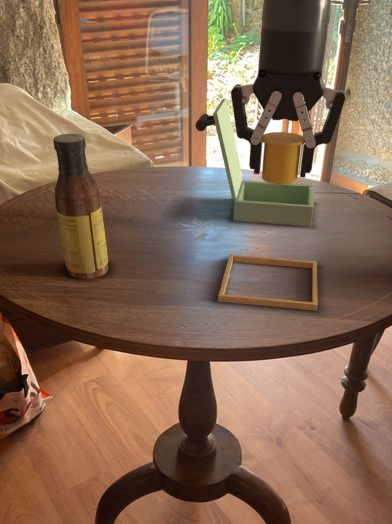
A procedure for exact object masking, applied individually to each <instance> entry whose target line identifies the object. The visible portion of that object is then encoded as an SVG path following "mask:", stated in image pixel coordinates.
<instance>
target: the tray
mask: <svg viewBox="0 0 392 524" xmlns="http://www.w3.org/2000/svg"><path fill="white" fill-rule="evenodd" d="M233 263H245V264H257V265H268V266H269V265H270V266H279V267H280V266H282V267H291V268H304V269H311V301H304V300H303V301H301V300H290V299H282V298H269V297H261V296H260V297H259V296H248V295H237V294H226V291H227V286H228V282H229V278H230V274H231V271H232V268H233ZM225 266H226V267H225V271H224V274H223V278H222V281H221V285H220V288H219V291H218V295H217V301H218V302H220V303H230V304H241V305H251V306H252V305H253V306H262V307H274V308H284V309H292V310H293V309H295V310H304V311H317V310H318V261H314V260H313V261H312V260H303V259H302V260H301V259H300V260H298V259H290V258H289V259H288V258H278V257H265V256H252V255H241V254H229V256H228V260H227V263H226V265H225Z"/></svg>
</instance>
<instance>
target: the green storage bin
mask: <svg viewBox="0 0 392 524" xmlns="http://www.w3.org/2000/svg"><path fill="white" fill-rule="evenodd" d="M314 203H315V201H314V185H313V184H301V183H300V184H299V183H290V184H273V183H269V182H266V181H259V180H258V181H256V180H243V179H242V182H241V185H240V188H239V191H238V195H237V198H236V199H234V201H233V216H232V217H233V218H232V221H233V222H242V223H243V222H245V223H256V224H270V225H281V226H283V225H284V226H293V227H295V226H297V227H307V228H308V227H312V220H313V214H314Z"/></svg>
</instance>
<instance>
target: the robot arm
mask: <svg viewBox="0 0 392 524" xmlns="http://www.w3.org/2000/svg"><path fill="white" fill-rule="evenodd" d="M331 7H332V0H262V10H261V24H260V25H261V27H260V37H259V38H260V40H259V53H258V54H259V56H258V68H257V75H256V78H255V80H254V81H253V83H249V84H245V85H241V84H239V83H237V84H234V86H233V87H232V89H231V91H230V97H231V104H232V111H233V118H234V124H235V133H236V137H237V138H238V139H241V140H245V141H247V142H248V143H249V147H250V148H249V160H248V166H249V169H250V170H253V175H260V173H261V166H262V154H263V142H262V141H261V138H262V136H263V134H265V133H266V130H267V128H268V127H269V124H270V122H271V121H283V120H288V121H291V122H299V125H300V129H301V132H302V136H304V139H305V143H304V144H303V145H302V154H301V162H300V170H299V178H306V175H307V174H310V173H311V172H312V170H313V165H314V164H313V163H314V155H315V149H316V148H317V147H318V146H320V145H328V144H330V143H331V142H332V138H333V135H334V133H335V130H336V127H337V124H338V121H339V119H340V115H341V113H342V110H343V107H344V104H345V101H346V93H345V90H344V89H339V88H338V89H337V90H336V89H333V88H329V87H326V86H325V84H324V80H323V70H324V63H325V62H324V61H325V55H326V54H325V53H326V46H327V39H328V31H329V24H330V20H331ZM252 94H254V97H255V98H256V99H257V101H258V103H259V105H260V106H261V108H262V112H261V114H260V117H259V119H258V121H257V123H256V125H255V128H252V127H249V125H248V117H247V111H246V110H247V109H246V106H247V105H248V103H249V102H250V100H251V95H252ZM322 98H324V99H325V102H324V103H325V108H326V109H328V111H327V114H326V117H325V120H324V124H323V126H322V129H321V131H318V132H317V131H316V132H315V129H314V126H313V122H312V117H311V113H310V112H311V110H312V109H313V108H314V107H315V105H316V104H317V103H318V102H319V100H321V99H322Z"/></svg>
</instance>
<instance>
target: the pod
mask: <svg viewBox="0 0 392 524" xmlns="http://www.w3.org/2000/svg"><path fill="white" fill-rule="evenodd" d="M261 141H262V144H263V157H262V170H261V180H263V182H269V183H273V184H295V183H296V182H297V181H298V176H299V175H298V174H299V166H300V157H301V148H302V146H303V144H305V139H304V136H303V134H299V133H294V132H285V131H273V132H267V133H266V132H265V133H264V134H263V136H262V138H261Z"/></svg>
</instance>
